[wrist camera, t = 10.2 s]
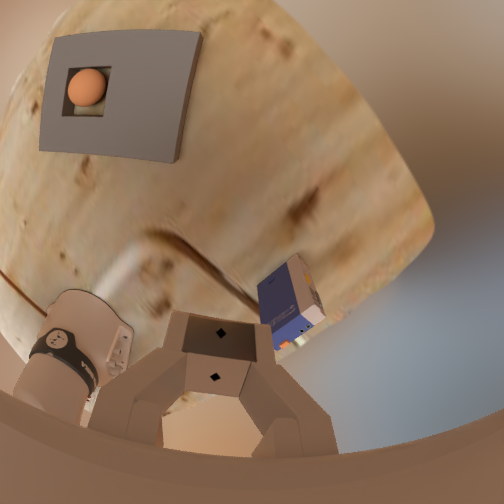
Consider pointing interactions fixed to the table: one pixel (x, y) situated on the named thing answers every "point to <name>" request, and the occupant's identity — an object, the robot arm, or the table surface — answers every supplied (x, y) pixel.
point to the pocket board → (122, 93)
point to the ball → (86, 87)
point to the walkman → (289, 302)
